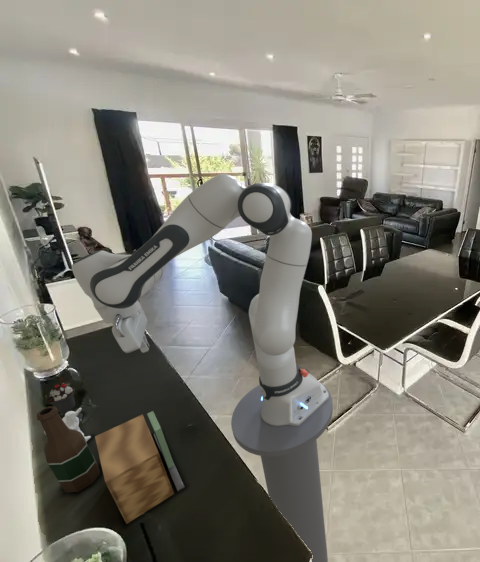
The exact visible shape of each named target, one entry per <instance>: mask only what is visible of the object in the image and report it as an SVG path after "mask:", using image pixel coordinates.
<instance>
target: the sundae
mask: <svg viewBox="0 0 480 562" xmlns="http://www.w3.org/2000/svg"><path fill="white" fill-rule="evenodd" d="M63 379H64V377H60V378H59V381H58V383H57V384H55V385H54V387H53V388H52V389H50V392H49V395H44V397H45V403H46V404H51V405H52V406H55V407H56V408H57V409H58V413H60V414H66V413H67V412H69V411H73V410H74V408H75V407H76V400H75V396H74V393H75V391H76V388H74V387H71V386H68V385H67V384H66V383H63ZM60 382H61V385H60ZM76 417H78V419H79V421H80V420H81V419H82V418H83V417H84V414H83V413H82V412H79V413H78V415H77V416H76Z"/></svg>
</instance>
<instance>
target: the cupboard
mask: <svg viewBox="0 0 480 562" xmlns="http://www.w3.org/2000/svg"><path fill="white" fill-rule="evenodd" d="M153 437H154V438H153ZM154 439H155V440H154ZM94 440H95V444H96V449H97V452H98V457H99V461H100V466H101V470H102V475H103V480H104V483H105V485H106V488H107V489H108V490H109V493H110V495H111V496H112V499H113V500H114V502H115V505H116V507H117V508H118V511H119V512H120V514H121V516H122V518H123V520H124V522H125V524H127V525H128V524H129V523H130V522H132V521H134V520H135V519H137V518H138V517H140V516H142V515H143V514H145V513H146V512H147V511H150V510H152V509H153V508H154V507H156V506H158V505H159V504H161V503H162V502H164V501H166V500H167V499H169V498H170V497H171V496H173V495H175V492H174V489H173V488H172V484H171V482H170V478H169V475H170V477H171V480H172V481H173V482H172V483H173V484H174V487H175V489H176V491H177V492H180V491H182V490H183V489H184V488H185V485H184V482H183V481H182V478H181V476H180V474H179V472H178V469H177V467H176V465H175V463H174V461H173V463H174V466H173V467H171V468H168V466H167V464H166V461H165V459H164V457H163V454H162V452H161V450H160V447H159V444H158V442H157V439H156V436H155V434H154V433H153V436H152V434H151V431H150V428H149V426H148V424H147V421H146V418H145V417H144V414H141V415H138V416H136V417H134V418H132V419H129V420H127V421H124V422H123V423H121V424H119V425H116V426H115V427H112V428H110V429H108V430H106V431H103V432H101V433H100V434H97V435H95V436H94ZM155 442H156V443H155ZM156 444H157V446H158V447H157V446H156ZM158 448H159V450H158ZM159 451H160V453H159ZM160 454H161V455H162V458H163V461H164V462H165V466H166V467H167V470H168V472H169V475H168V474H167V470H166V468H165V466H164V463H163V461H162V458H161V455H160Z"/></svg>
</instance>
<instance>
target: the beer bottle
mask: <svg viewBox="0 0 480 562" xmlns="http://www.w3.org/2000/svg"><path fill="white" fill-rule="evenodd" d="M62 419H63V417H61V415H60V414H59V411H58V409H57V408H56V407H55V406H53V405H52V406H47V407H44V408H43V409H40V410H39V411H38V412H37V413H36V421H39V422H40V424H41V426H42V429H43V432H44V431H45V433H44V435H45V436H46V439H47V440H46V442H45V443H44V449H43V450H44V457H45V460H46V462H47V464H48V466H49V468H50V470H51V471H52V473H53V475H54V476H55V478H56V480H57V482H58V483H59V485H60V487H61V488H62V490H63V491H64V492H65V493H80V492H81V491H83V490H85V489H86V488H87V487H89V486H91V485H92V484H94V483H95V481H96V480H97V478H98V477H99V476H100V474H101V471H100V467H99V465H98V462H97V460H96V458H95V456H94V454H93V451H92V450H91V448H90V446H89V443H88V441H87V442H86V440H85V438H84V437H85V435H84V436H83V435H82V433H83V432H82V433H80V432H79V431H77V430H72V429H69V428H68V427H67V426H66V425H65V423H64V422H63V420H62Z"/></svg>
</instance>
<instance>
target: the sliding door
mask: <svg viewBox="0 0 480 562" xmlns="http://www.w3.org/2000/svg"><path fill="white" fill-rule="evenodd" d="M146 415H147V418H148V420H149V423H150V426H151V429H152V431H153V434H155V436H156V439H157V442H158V444H159V446H158V448H159V447H160V449H159V451H160V450H161V451H160V453H161V452H162V453H161V455H162V454H163V456H162V458H163V457H164V458H163V460H164V459H165V460H164V462H165V461H166V463H165V465H166V464H167V465H166V467H167V466H168V467H167V469H168V468H171V467H173V466H174V465H175V463H173V462H174V460H173V457H172V455H171V451H170V449H169V446H168V444H167V441H166V439H165V436H164V433H163V430H162V427H161V424H160V423H159V421H158V419H157V417H156V414H155V412H154V410H152V411H150V412H148V413H146ZM156 439H155V440H156ZM157 442H156V443H157ZM158 444H157V445H158Z"/></svg>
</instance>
